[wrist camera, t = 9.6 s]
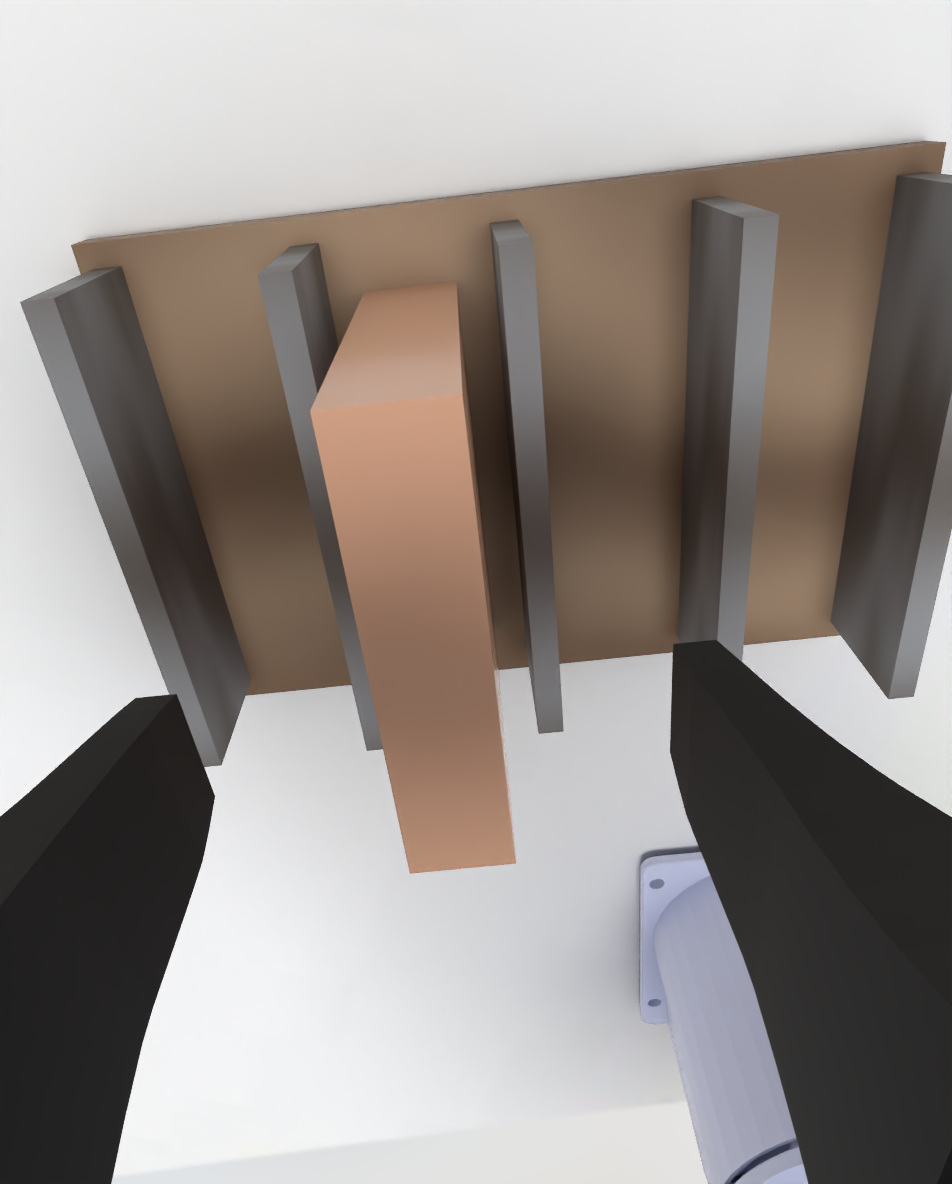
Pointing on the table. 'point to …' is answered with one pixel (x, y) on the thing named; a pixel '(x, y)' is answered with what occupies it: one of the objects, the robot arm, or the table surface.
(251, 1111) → the table surface
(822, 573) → the dish rack
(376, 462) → the peach rectangular slab
